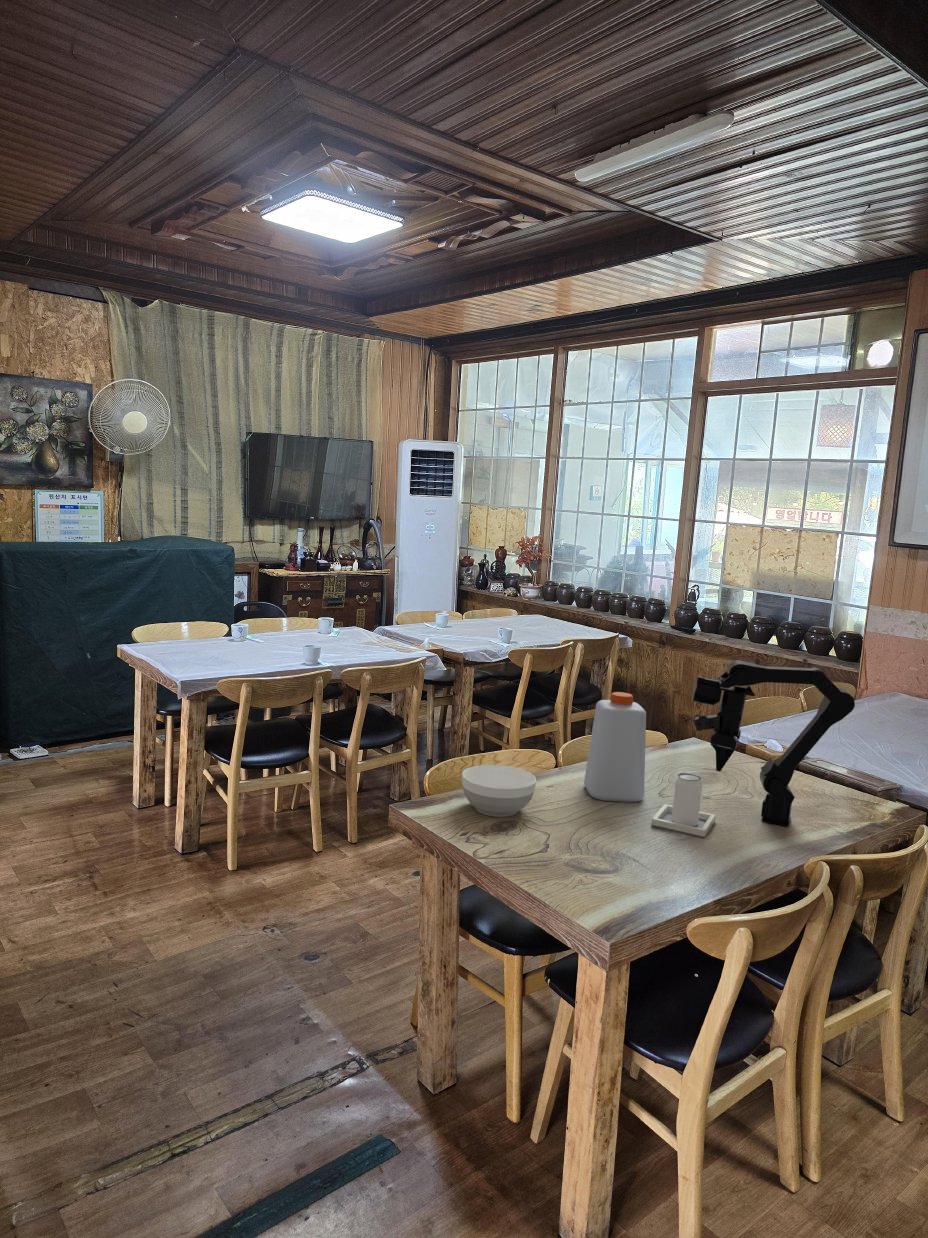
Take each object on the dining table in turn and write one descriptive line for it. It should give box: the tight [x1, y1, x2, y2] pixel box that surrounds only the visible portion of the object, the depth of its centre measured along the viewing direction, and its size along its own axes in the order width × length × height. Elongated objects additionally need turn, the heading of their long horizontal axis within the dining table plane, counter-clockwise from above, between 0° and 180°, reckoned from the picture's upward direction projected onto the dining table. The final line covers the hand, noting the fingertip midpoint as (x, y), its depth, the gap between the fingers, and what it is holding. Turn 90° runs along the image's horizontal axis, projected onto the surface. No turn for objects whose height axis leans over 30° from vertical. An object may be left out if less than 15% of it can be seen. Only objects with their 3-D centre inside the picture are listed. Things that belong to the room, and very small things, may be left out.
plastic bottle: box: [583, 691, 647, 803], centre depth 230 cm, size 15×15×28 cm
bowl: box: [461, 764, 537, 818], centre depth 213 cm, size 19×19×9 cm
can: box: [672, 772, 703, 827], centre depth 211 cm, size 6×6×12 cm
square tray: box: [650, 803, 716, 839], centre depth 211 cm, size 13×13×2 cm
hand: (719, 767), depth 219 cm, fingers open, 9 cm apart
